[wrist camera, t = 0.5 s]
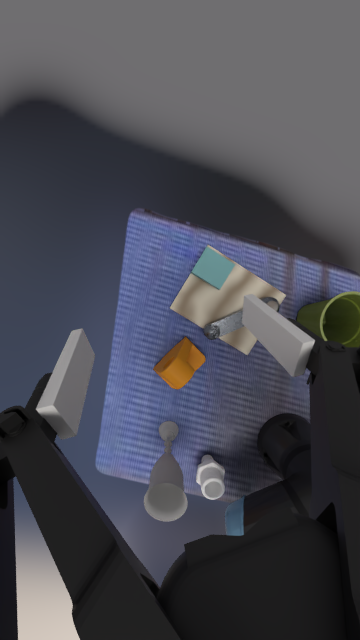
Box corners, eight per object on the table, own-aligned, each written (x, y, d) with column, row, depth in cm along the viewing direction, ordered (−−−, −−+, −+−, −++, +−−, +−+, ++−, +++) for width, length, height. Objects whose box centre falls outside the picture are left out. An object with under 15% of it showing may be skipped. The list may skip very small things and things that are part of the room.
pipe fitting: (190, 454, 51) (193, 483, 43) (215, 444, 50) (223, 471, 43) (198, 475, 51) (203, 507, 43) (224, 465, 51) (233, 495, 43)
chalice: (187, 427, 50) (195, 497, 32) (173, 448, 50) (172, 528, 32) (164, 412, 49) (158, 475, 31) (149, 433, 50) (135, 507, 32)
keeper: (228, 268, 45) (235, 264, 40) (215, 290, 45) (220, 289, 41) (203, 252, 44) (207, 246, 40) (189, 274, 45) (191, 271, 40)
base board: (282, 295, 47) (296, 294, 42) (245, 353, 48) (253, 360, 43) (206, 246, 46) (211, 239, 41) (169, 307, 47) (169, 308, 42)
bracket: (174, 385, 49) (174, 412, 37) (154, 365, 48) (147, 386, 36) (205, 356, 48) (215, 373, 36) (185, 335, 48) (189, 347, 36)
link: (269, 294, 46) (275, 293, 43) (276, 311, 46) (282, 311, 44) (200, 324, 46) (201, 326, 43) (207, 341, 46) (209, 343, 44)
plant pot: (342, 309, 48) (393, 311, 37) (315, 349, 49) (358, 364, 38) (303, 284, 47) (343, 279, 36) (277, 326, 48) (308, 333, 37)
